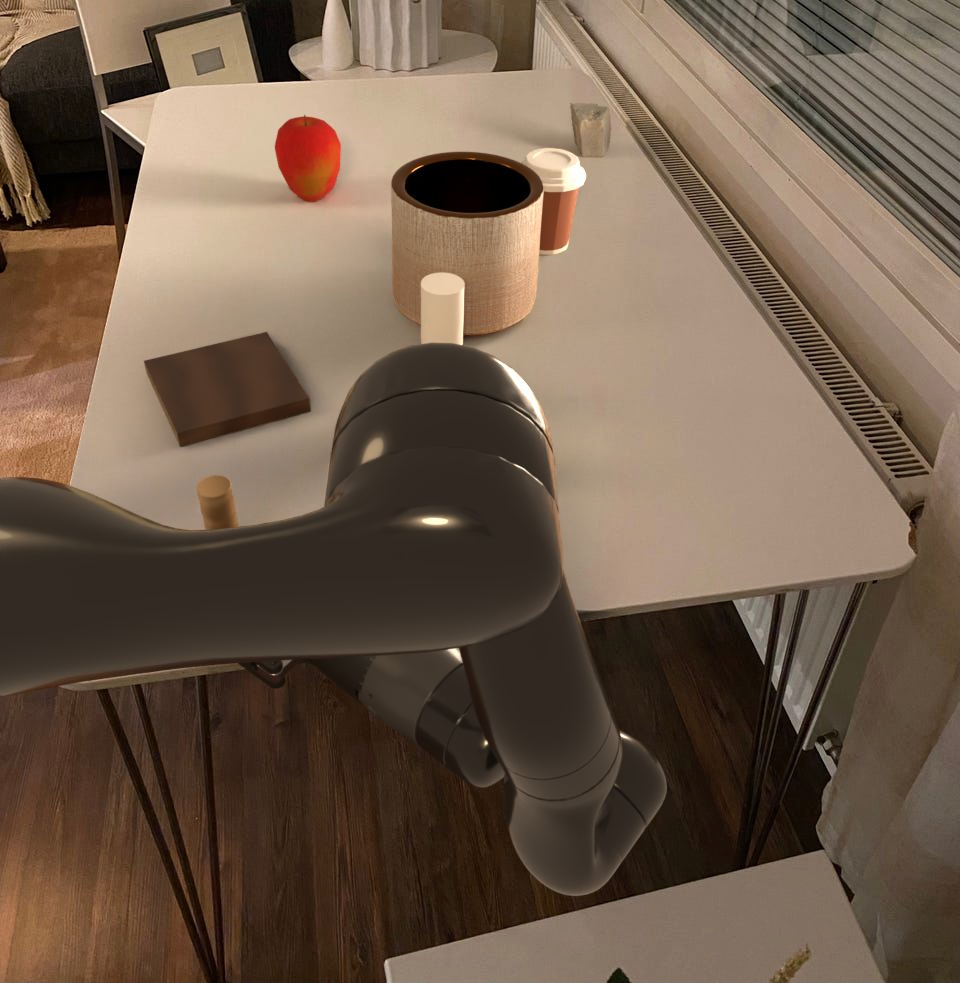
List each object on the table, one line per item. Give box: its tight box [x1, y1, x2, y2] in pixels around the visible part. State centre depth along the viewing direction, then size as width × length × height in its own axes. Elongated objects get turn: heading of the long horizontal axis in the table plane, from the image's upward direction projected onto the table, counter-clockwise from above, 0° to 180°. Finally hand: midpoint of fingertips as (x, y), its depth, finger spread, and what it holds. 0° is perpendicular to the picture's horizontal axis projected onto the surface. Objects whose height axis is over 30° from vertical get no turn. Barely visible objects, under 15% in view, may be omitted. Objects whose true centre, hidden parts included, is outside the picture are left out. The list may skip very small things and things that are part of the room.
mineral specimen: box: [569, 102, 612, 158], centre depth 153 cm, size 7×9×8 cm
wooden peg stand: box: [196, 474, 240, 530], centre depth 79 cm, size 5×5×13 cm
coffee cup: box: [521, 147, 587, 256], centre depth 129 cm, size 9×9×12 cm
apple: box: [274, 114, 342, 203], centre depth 136 cm, size 9×9×12 cm
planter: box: [390, 151, 544, 336], centre depth 115 cm, size 18×18×16 cm
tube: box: [420, 272, 465, 345], centre depth 100 cm, size 4×4×15 cm
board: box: [143, 331, 312, 447], centre depth 104 cm, size 14×14×2 cm
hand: (253, 556), depth 76 cm, fingers open, 8 cm apart
